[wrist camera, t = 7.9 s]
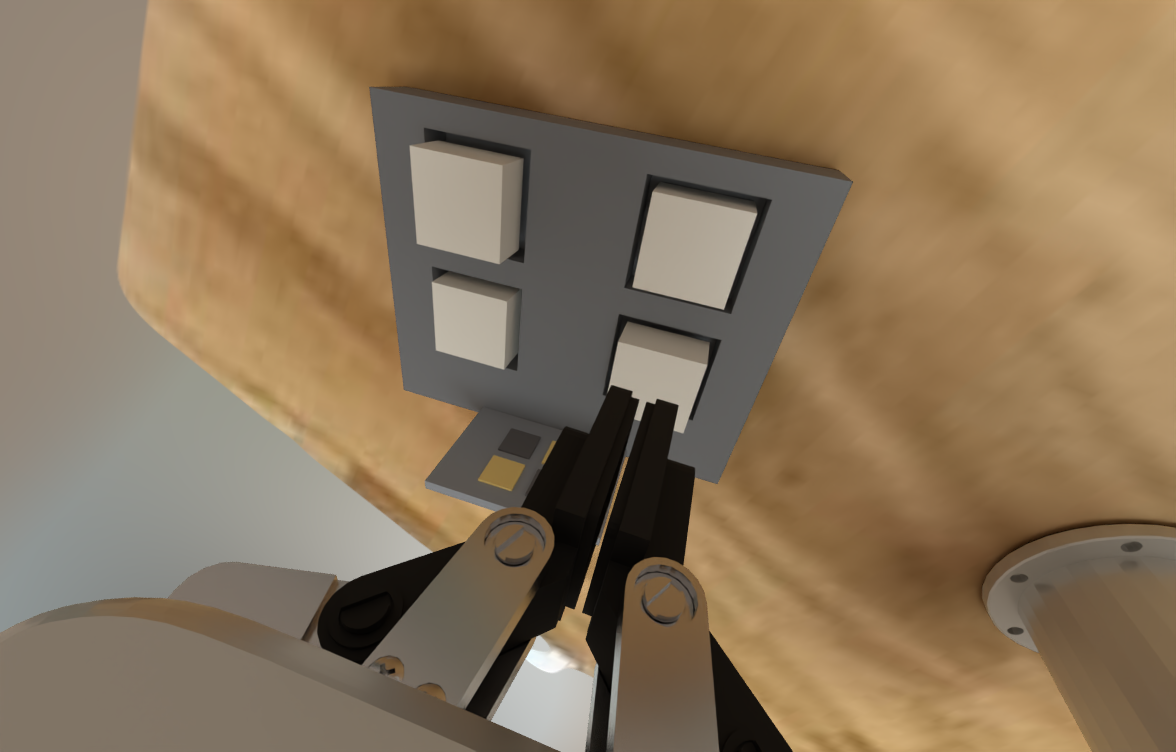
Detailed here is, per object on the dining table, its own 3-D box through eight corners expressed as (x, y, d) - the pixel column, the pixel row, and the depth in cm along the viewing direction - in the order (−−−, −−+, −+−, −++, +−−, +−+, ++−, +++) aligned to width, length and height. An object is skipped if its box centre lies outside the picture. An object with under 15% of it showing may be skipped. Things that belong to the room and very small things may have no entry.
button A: (755, 201, 21) (757, 213, 19) (724, 291, 23) (723, 309, 21) (660, 181, 22) (652, 191, 20) (640, 270, 24) (632, 287, 22)
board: (839, 170, 21) (853, 181, 18) (718, 452, 31) (717, 484, 28) (406, 86, 24) (369, 86, 21) (427, 368, 34) (404, 389, 32)
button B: (523, 158, 22) (502, 165, 20) (518, 249, 24) (499, 264, 22) (438, 140, 22) (409, 145, 20) (442, 231, 25) (416, 243, 23)
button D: (523, 285, 26) (507, 301, 24) (519, 350, 29) (504, 369, 27) (453, 267, 27) (431, 282, 25) (455, 332, 30) (435, 350, 28)
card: (627, 448, 29) (600, 537, 23) (625, 456, 29) (598, 545, 24) (483, 405, 30) (424, 478, 25) (483, 413, 31) (425, 488, 25)
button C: (709, 342, 24) (707, 365, 22) (687, 407, 26) (683, 433, 25) (627, 321, 25) (618, 341, 23) (613, 387, 27) (603, 410, 25)
